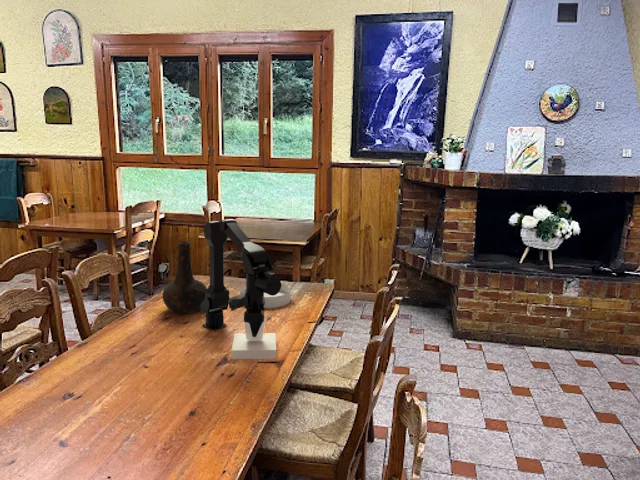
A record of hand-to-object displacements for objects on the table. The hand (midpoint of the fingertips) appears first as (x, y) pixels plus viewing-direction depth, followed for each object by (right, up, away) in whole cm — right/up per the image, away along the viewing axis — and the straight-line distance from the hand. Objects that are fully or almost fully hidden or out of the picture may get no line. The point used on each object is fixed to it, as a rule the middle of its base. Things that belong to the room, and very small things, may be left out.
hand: (254, 332), depth 159 cm
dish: (-2, +4, +53) cm, 53 cm away
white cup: (0, -2, 0) cm, 2 cm away
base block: (0, -6, +1) cm, 6 cm away
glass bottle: (-33, +2, +36) cm, 49 cm away
